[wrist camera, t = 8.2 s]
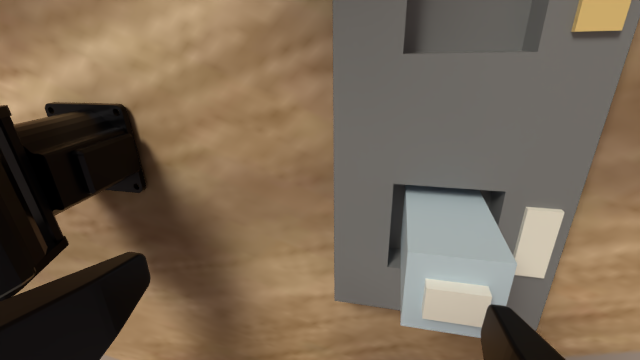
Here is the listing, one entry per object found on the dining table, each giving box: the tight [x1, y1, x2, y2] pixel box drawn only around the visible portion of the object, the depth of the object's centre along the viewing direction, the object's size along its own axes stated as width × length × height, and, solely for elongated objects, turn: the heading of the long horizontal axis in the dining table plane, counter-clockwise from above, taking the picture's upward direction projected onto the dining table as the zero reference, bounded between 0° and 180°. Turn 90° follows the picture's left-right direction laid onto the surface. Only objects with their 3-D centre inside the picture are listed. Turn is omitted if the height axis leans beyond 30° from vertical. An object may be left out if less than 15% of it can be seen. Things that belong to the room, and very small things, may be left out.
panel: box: [333, 0, 640, 331], centre depth 17 cm, size 12×24×3 cm, turn 1°
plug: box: [400, 185, 517, 338], centre depth 16 cm, size 4×4×8 cm
